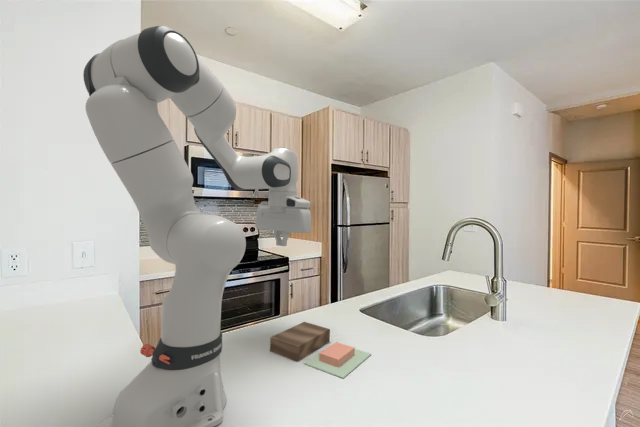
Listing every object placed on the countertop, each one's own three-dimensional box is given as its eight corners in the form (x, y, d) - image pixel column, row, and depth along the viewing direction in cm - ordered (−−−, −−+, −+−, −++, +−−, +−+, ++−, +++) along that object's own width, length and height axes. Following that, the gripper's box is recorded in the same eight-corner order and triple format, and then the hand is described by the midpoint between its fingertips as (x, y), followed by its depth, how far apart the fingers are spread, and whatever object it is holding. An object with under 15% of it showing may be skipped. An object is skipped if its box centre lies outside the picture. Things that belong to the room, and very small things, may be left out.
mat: (343, 378, 76) (343, 377, 76) (303, 363, 82) (303, 362, 82) (371, 354, 89) (371, 353, 89) (335, 343, 96) (335, 342, 96)
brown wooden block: (297, 361, 83) (298, 346, 83) (269, 351, 89) (270, 337, 89) (329, 341, 97) (330, 329, 97) (303, 333, 102) (304, 321, 102)
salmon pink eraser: (319, 353, 84) (318, 360, 84) (338, 359, 80) (338, 367, 80) (336, 342, 91) (336, 348, 91) (354, 347, 88) (354, 354, 88)
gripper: (251, 200, 101) (250, 243, 101) (302, 201, 89) (300, 249, 89) (265, 201, 106) (264, 242, 106) (315, 202, 94) (313, 248, 95)
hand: (281, 245), depth 98 cm, fingers closed
